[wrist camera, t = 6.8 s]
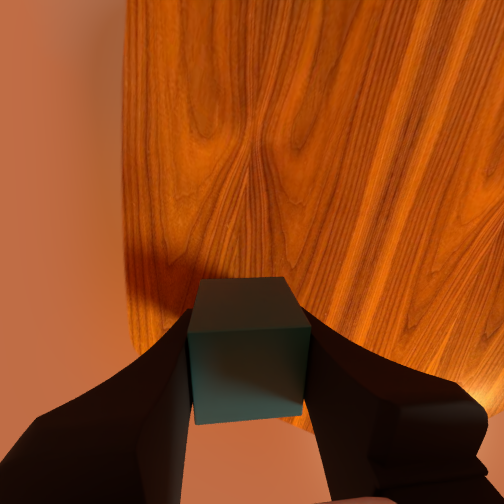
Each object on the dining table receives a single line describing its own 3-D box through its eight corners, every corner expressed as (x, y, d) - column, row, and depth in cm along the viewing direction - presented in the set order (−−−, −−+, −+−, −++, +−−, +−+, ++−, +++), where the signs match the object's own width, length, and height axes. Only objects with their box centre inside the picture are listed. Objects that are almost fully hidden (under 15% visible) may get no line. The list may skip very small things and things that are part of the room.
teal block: (204, 349, 13) (194, 426, 9) (200, 278, 12) (186, 332, 8) (279, 344, 13) (302, 416, 9) (283, 276, 12) (312, 325, 8)
